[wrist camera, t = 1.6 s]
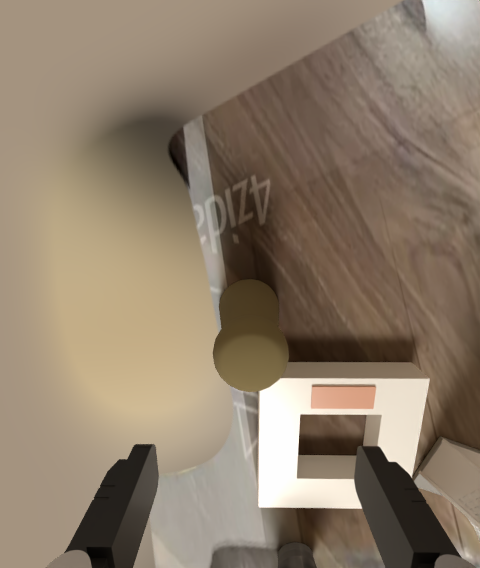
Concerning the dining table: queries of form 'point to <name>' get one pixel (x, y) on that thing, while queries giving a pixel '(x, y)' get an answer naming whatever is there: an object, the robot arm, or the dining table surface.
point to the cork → (250, 337)
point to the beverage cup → (295, 556)
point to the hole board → (335, 400)
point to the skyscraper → (453, 477)
